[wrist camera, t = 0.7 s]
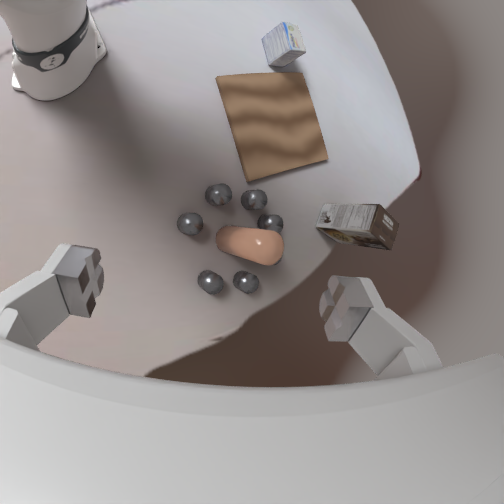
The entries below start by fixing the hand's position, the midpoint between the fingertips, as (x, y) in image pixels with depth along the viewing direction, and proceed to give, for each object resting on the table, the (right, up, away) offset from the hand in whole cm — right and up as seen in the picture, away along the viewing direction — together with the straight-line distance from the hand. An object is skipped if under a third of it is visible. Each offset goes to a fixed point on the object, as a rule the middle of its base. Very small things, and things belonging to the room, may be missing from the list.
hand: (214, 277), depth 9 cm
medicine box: (+6, +46, +41) cm, 62 cm away
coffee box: (+20, +8, +55) cm, 59 cm away
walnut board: (+6, +28, +44) cm, 53 cm away
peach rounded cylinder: (-3, +3, +42) cm, 43 cm away
